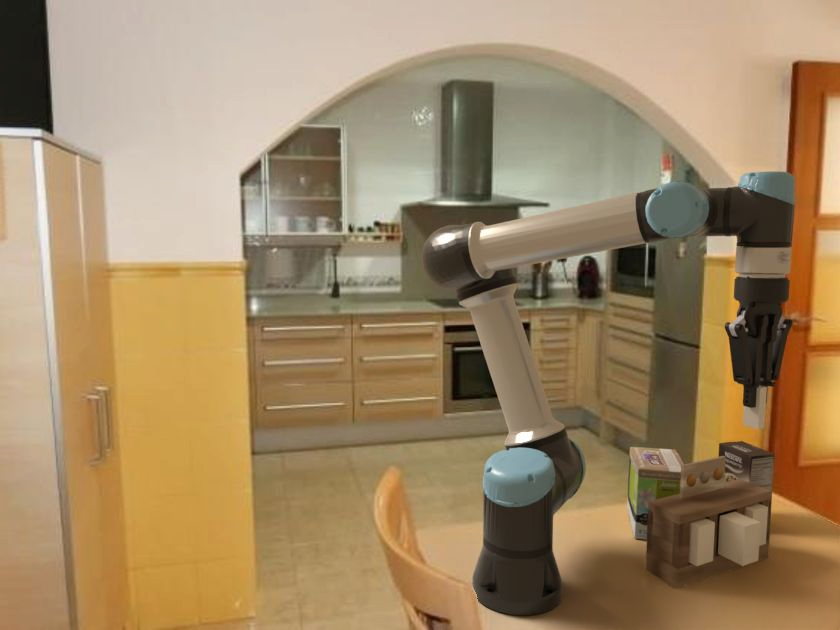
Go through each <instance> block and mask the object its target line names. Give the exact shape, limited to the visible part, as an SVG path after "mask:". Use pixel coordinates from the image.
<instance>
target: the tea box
mask: <svg viewBox="0 0 840 630" xmlns="http://www.w3.org/2000/svg"><path fill="white" fill-rule="evenodd" d="M628 456H629V457H628V459H629V460H628V462H629V463H628V479H627V499H626V500H627V501H626V510H627V513H628V518H629V523H630V526H631V530H632V534H633V537H634V539H637V540H638V539H639V540H644V541H647V523H648V502H649V501H653V500H657V499H661V498H665V497H669V496H673V495H677V494H680V480H681V465H685V464H686V463H684V461H683V460H682V458H681V455H680V454H679V453H678V451H677V449H674V448H673V449H670V448H655V447H640V446H630V447H629V455H628Z"/></svg>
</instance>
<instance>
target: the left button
mask: <svg viewBox="0 0 840 630" xmlns="http://www.w3.org/2000/svg"><path fill="white" fill-rule="evenodd" d="M714 530H715V522H713V521H711V520H708V519H706V518H701V519H698V520H694V521H690V537H689V559H688V562H690V563H692V564H693V565H695V566H699V565H702V564H705V563H708V562H711V561H713V550H714Z"/></svg>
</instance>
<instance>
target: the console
mask: <svg viewBox="0 0 840 630" xmlns="http://www.w3.org/2000/svg"><path fill="white" fill-rule="evenodd" d="M725 461H726V457H725V456H720V457H718V456H715V457H713V458H707V459H703V460H698V461H693V462H690V463H684V464H685V465H681V480H680V494H677V495H673V496H669V497H665V498H661V499H657V500H653V501H649V502H648V523H647V540H646V553H645V572H647V573H648V574H650V575H652V576H654V577H655V578H658V579H659V580H661V581H662V582H665V583H666V584H668V585H669V586H671V587H673V588H674V589H680V588H683V587H686V586H689V585H691V584H695V583H698V582H700V581H703V580H706V579H710V578H712V577H715V576H718V575H721V574H725V573H728V572H729V571H733V570H735V569H739V568H742V567H744V566H748V565H751V564H753V563H757V562H760V561H763V560H765V559H768V558H769V549H770V548H769V547H770V534H771V533H770V532H771V516H772V499H773V490H772V491H771V490H768V489H765V488H763V487H760V486H757V485H755V484H752V483H749V482H746V481H744V480H741V479H736V480H732V481H728V482H724V480H725ZM755 503H759V504H761V505H764V506H767V507H768V516H767V533H766V544H764V545H761V546H759V556H758V561H756V562H753V563H750V564H747V565H744V566H742V565H740V564H738V563H736V562H734V561H732V560H730V559H727V558H725V557H723V556H721V555H719V554H718V541H719V521H720V516H721V515H725V514H728V513H729V511H730V510H731V513H732V512H737V513H740V514H742V515H744V516H745V506H748V505H751V504H755ZM701 518H706V519H708V520H711V521H713V522H715V530H714V550H713V561H711V562H708V563H705V564H702V565H699V566H695V565H693V564H692V563H690V562H688V559H689V537H690V521H694V520H698V519H701Z"/></svg>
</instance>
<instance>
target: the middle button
mask: <svg viewBox="0 0 840 630" xmlns="http://www.w3.org/2000/svg"><path fill="white" fill-rule="evenodd" d="M759 539H760V522H759V521H757V520H754V519H752V518H749V517H747V516H744V515H742V514H740V513H737V512H732V513H728V514H725V515H721V516H720V521H719V541H718V554H719V555H721V556H723V557H725V558H727V559H730V560H732V561H734V562H736V563H738V564H740V565H742V567H744V565H745V566H748V565H751V564H753V562H754V563H757V562H759V561H758V556H759ZM756 561H757V562H756ZM750 563H751V564H750ZM747 564H748V565H747Z"/></svg>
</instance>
